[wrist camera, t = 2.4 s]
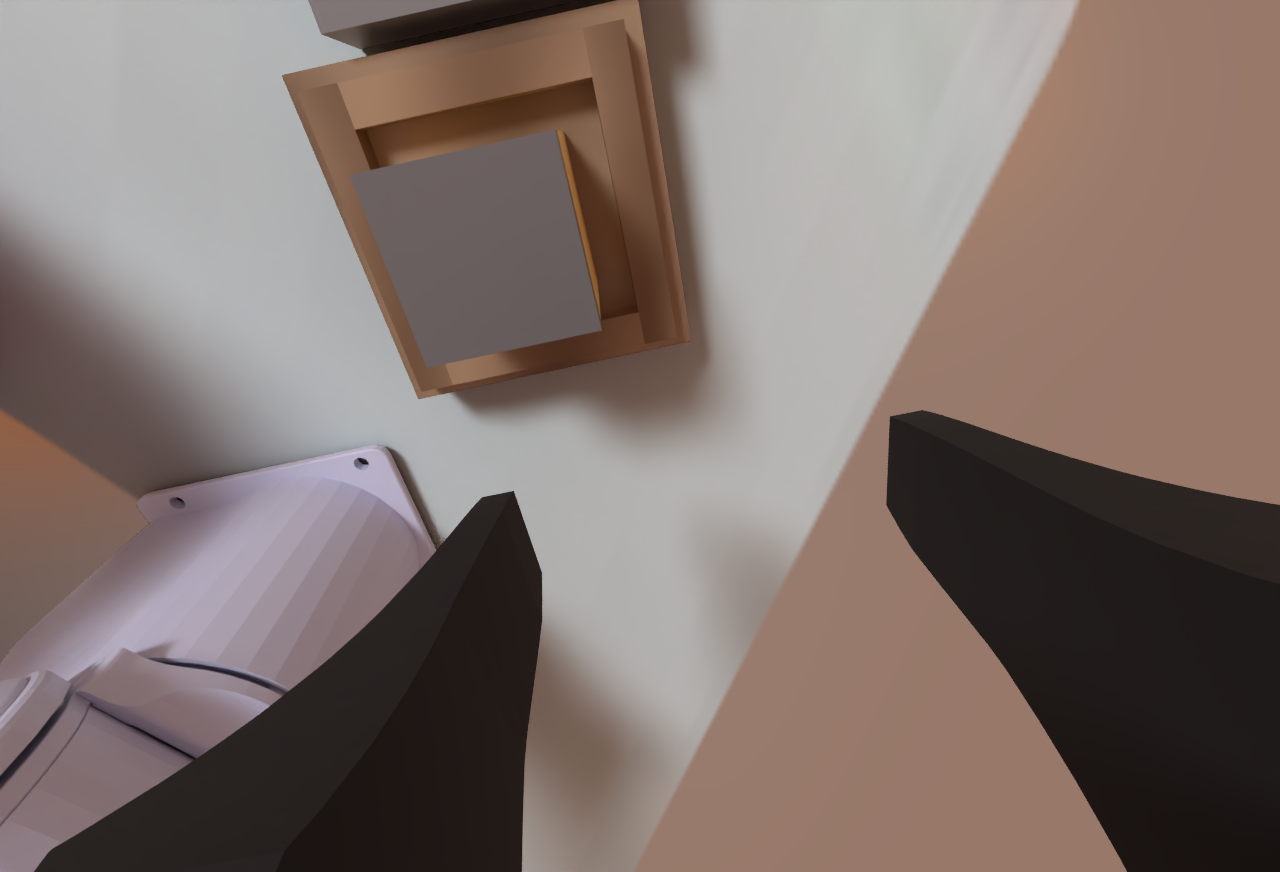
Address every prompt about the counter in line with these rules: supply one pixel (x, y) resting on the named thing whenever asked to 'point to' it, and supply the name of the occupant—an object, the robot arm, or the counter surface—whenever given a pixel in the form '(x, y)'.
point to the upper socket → (506, 109)
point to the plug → (485, 246)
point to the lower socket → (409, 17)
